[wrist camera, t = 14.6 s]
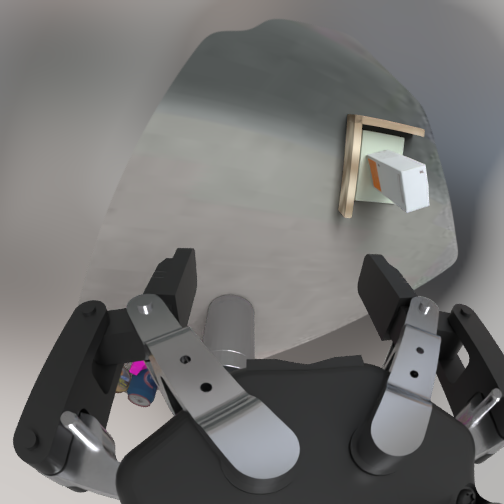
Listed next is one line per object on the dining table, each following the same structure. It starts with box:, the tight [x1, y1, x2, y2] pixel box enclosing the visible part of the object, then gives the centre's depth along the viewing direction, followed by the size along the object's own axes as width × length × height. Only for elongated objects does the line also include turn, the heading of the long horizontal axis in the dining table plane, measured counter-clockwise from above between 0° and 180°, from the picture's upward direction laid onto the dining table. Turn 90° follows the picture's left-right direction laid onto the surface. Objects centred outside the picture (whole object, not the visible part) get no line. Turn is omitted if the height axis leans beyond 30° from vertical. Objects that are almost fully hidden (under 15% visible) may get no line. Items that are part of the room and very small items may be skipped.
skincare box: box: [367, 150, 429, 213], centre depth 35 cm, size 6×4×12 cm
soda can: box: [127, 368, 158, 407], centre depth 59 cm, size 7×7×12 cm
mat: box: [355, 130, 404, 204], centre depth 40 cm, size 12×8×1 cm, turn 179°
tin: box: [115, 367, 131, 393], centre depth 61 cm, size 15×3×8 cm, turn 46°
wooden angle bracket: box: [338, 114, 425, 218], centre depth 39 cm, size 16×13×4 cm
